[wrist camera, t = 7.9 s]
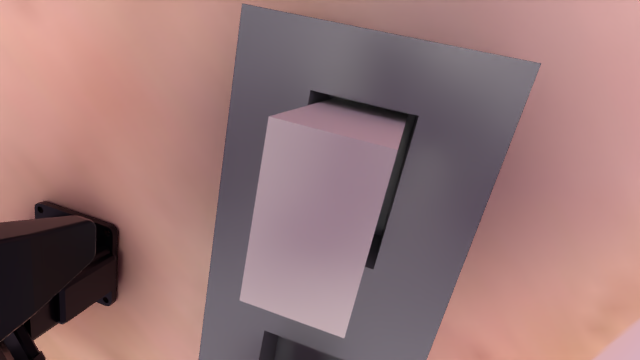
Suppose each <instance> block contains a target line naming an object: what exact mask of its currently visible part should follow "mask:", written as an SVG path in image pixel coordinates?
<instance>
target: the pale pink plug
mask: <svg viewBox="0 0 640 360" xmlns="http://www.w3.org/2000/svg"><path fill="white" fill-rule="evenodd" d="M407 116H408V114H403V113H399V112H395V111H391V110H387V109H383V108H378V107H374V106H370V105H366V104H362V103H357V102H353V101H349V100H345V99H341V98H337V97H336V98H332V99H329V100H325V101H322V102H318V103H315V104H311V105H308V106H304V107H300V108H297V109H293V110H290V111H286V112H283V113H279V114H276V115H272V116H269V118H268V124H267V130H266V136H265V143H264V149H263V155H262V162H261V168H260V174H259V181H258V187H257V193H256V199H255V206H254V212H253V218H252V225H251V231H250V237H249V243H248V250H247V256H246V262H245V269H244V275H243V281H242V288H241V294H240V301H242V302H245V303H248V304H251V305H253V306H256V307H259V308H262V309H264V310H267V311H270V312H273V313H275V314H278V315H281V316H284V317H286V318H289V319H292V320H295V321H298V322H300V323H303V324H306V325H309V326H311V327H314V328H317V329H320V330H322V331H325V332H328V333H331V334H333V335H336V336H339V337H342V338H345V334H346V331H347V327H348V324H349V320H350V317H351V313H352V310H353V306H354V303H355V299H356V296H357V292H358V289H359V285H360V281H361V278H362V274H363V271H364V267H365V264H366V260H367V257H368V253H369V250H370V246H371V243H372V239H373V236H374V232H375V229H376V225H377V222H378V218H379V215H380V211H381V208H382V204H383V201H384V197H385V194H386V190H387V187H388V183H389V180H390V176H391V173H392V169H393V166H394V162H395V158H396V155H397V151H398V148H399V144H400V141H401V137H402V134H403V130H404V127H405V123H406V120H407Z"/></svg>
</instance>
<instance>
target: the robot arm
mask: <svg viewBox="0 0 640 360" xmlns="http://www.w3.org/2000/svg"><path fill="white" fill-rule="evenodd" d="M109 232H110V233H109ZM116 274H117V229H116V227H115V226H114V225H112V224H109V223H106V222H104V221H101V220H98V219H95V218H92V217H89V216H86V215H83V214H80V213H77V212H75V211H72V210H69V209H66V208H63V207H60V206H57V205H54V204H51V203H48V202H45V201H43V202H40V203H37V204H36V205H35V219H33V220H22V221H12V222H1V223H0V360H45V359H46V358H45V356H44V355H43V353H42V351H39V350H38V348H37V346H36V345H35V343H34V341H33V340H35V339H36V338H38V337H39V336H41V335H42V334H44V333H45V332H47V331H48V330H49V329H51V328H52V327H54V326H55V325H57V324H58V323H60V324H65V323H66V322H68V321H69V320H71V319H72V318H74V317H75V316H77V315H78V314H79V313H81V312H82V311H84V310H85V309H86V308H88V307H89V306H91V305H92V304H94V303H95V302H97V303H100V304H103V305H105V306H110V305H111V304H113V303H114V302H115V301H116Z"/></svg>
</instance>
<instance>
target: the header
mask: <svg viewBox="0 0 640 360" xmlns="http://www.w3.org/2000/svg"><path fill="white" fill-rule="evenodd" d="M540 65H541V63H536V62H531V61H526V60H521V59H516V58H511V57H506V56H501V55H496V54H491V53H486V52H481V51H477V50H472V49H467V48H462V47H457V46H452V45H447V44H442V43H437V42H432V41H427V40H422V39H417V38H412V37H407V36H402V35H397V34H392V33H387V32H382V31H377V30H372V29H367V28H362V27H357V26H352V25H347V24H342V23H337V22H332V21H327V20H322V19H317V18H312V17H307V16H302V15H297V14H292V13H287V12H282V11H277V10H272V9H267V8H262V7H257V6H252V5H247V4H242V10H241V18H240V26H239V34H238V42H237V50H236V59H235V67H234V75H233V83H232V91H231V100H230V108H229V116H228V124H227V132H226V140H225V149H224V157H223V165H222V173H221V181H220V189H219V198H218V206H217V214H216V222H215V230H214V239H213V247H212V255H211V263H210V271H209V279H208V288H207V296H206V304H205V312H204V320H203V328H202V337H201V345H200V353H199V360H427V357H428V354H429V352H430V349H431V347H432V344H433V341H434V339H435V336H436V334H437V331H438V329H439V326H440V323H441V321H442V318H443V316H444V313H445V310H446V308H447V305H448V303H449V300H450V298H451V295H452V292H453V290H454V287H455V285H456V282H457V279H458V277H459V274H460V272H461V269H462V267H463V264H464V261H465V259H466V256H467V254H468V251H469V248H470V246H471V243H472V241H473V238H474V236H475V233H476V230H477V228H478V225H479V223H480V220H481V217H482V215H483V212H484V210H485V207H486V205H487V202H488V199H489V197H490V194H491V192H492V189H493V186H494V184H495V181H496V179H497V176H498V174H499V171H500V168H501V166H502V163H503V161H504V158H505V155H506V153H507V150H508V148H509V145H510V143H511V140H512V137H513V135H514V132H515V130H516V127H517V124H518V122H519V119H520V117H521V114H522V112H523V109H524V106H525V104H526V101H527V99H528V96H529V93H530V91H531V88H532V86H533V83H534V81H535V78H536V75H537V73H538V70H539V68H540ZM336 97H337V98H341V99H345V100H349V101H353V102H357V103H362V104H366V105H370V106H374V107H378V108H383V109H387V110H391V111H395V112H399V113H403V114H408V116H407V120H406V123H405V127H404V130H403V134H402V137H401V141H400V144H399V148H398V151H397V155H396V158H395V162H394V166H393V169H392V173H391V176H390V180H389V183H388V187H387V190H386V194H385V197H384V201H383V204H382V208H381V211H380V215H379V218H378V222H377V225H376V229H375V232H374V236H373V239H372V243H371V246H370V250H369V253H368V257H367V260H366V264H365V267H364V271H363V274H362V278H361V281H360V285H359V289H358V292H357V296H356V299H355V303H354V306H353V310H352V313H351V317H350V320H349V324H348V327H347V331H346V334H345V338H342V337H339V336H336V335H333V334H331V333H328V332H325V331H322V330H320V329H317V328H314V327H311V326H309V325H306V324H303V323H300V322H298V321H295V320H292V319H289V318H286V317H284V316H281V315H278V314H275V313H273V312H270V311H267V310H264V309H262V308H259V307H256V306H253V305H251V304H248V303H245V302H242V301H240V294H241V288H242V281H243V275H244V269H245V262H246V256H247V250H248V243H249V237H250V231H251V225H252V218H253V212H254V206H255V199H256V193H257V187H258V181H259V174H260V168H261V162H262V155H263V149H264V143H265V136H266V130H267V124H268V118H269V116H272V115H276V114H279V113H283V112H286V111H290V110H293V109H297V108H300V107H304V106H308V105H311V104H315V103H318V102H322V101H325V100H329V99H332V98H336Z"/></svg>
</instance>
